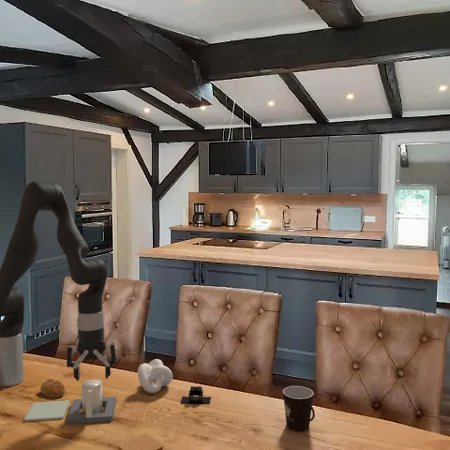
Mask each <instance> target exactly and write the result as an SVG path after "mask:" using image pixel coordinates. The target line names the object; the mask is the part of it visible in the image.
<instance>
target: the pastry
mask: <svg viewBox="0 0 450 450" xmlns="http://www.w3.org/2000/svg"><path fill="white" fill-rule="evenodd" d="M40 393H42V395H43V396H46V397H47V398H52V399H53V398H54V399H55V398H56V399H57V398H59V397H61V396H65V393H66V388H65V385H64V384H63V383H62V382H61V381H60V380H59V379H56V380H55V379H54V378H49V379H47V380H45V381H44V382H43V383H42V384H41V386H40Z"/></svg>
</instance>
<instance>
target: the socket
mask: <svg viewBox="0 0 450 450" xmlns="http://www.w3.org/2000/svg"><path fill="white" fill-rule="evenodd" d="M102 401H103V407H104V406H105V409H104V412H102V413H92V414H91V418H86V414H82V413H80V411H81V410H82V398H78V399H77V398H73V401H72V403H71V406H70V408H69V412H68V414H67V416H66V420H65V425H72V424H73V425H74V424H89V423H91V424H92V423H101V422H103V423H104V422H113V421H114V416H115V415H114V414H115V409H116V405H117V404H116V403H117V396H107V397H102Z"/></svg>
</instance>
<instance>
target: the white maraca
mask: <svg viewBox="0 0 450 450" xmlns="http://www.w3.org/2000/svg"><path fill="white" fill-rule="evenodd" d="M102 398H103V381H102V380H100V379H88V380H85V381H83V382H82V383H81V399H82V407H81V414H86V418H91V414H92V413H104V412H103V410H104V409H103V408H104V406H103V401H102Z"/></svg>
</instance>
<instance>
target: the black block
mask: <svg viewBox="0 0 450 450" xmlns="http://www.w3.org/2000/svg"><path fill="white" fill-rule="evenodd" d="M211 399H212V397H211V396H204V391H203V386H194V385H193V386H192V385H191V386H190V389H189V391H188V396H187V395H186V396H185V395H184V396H183V395H182V396H181V399H180V405H211Z"/></svg>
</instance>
